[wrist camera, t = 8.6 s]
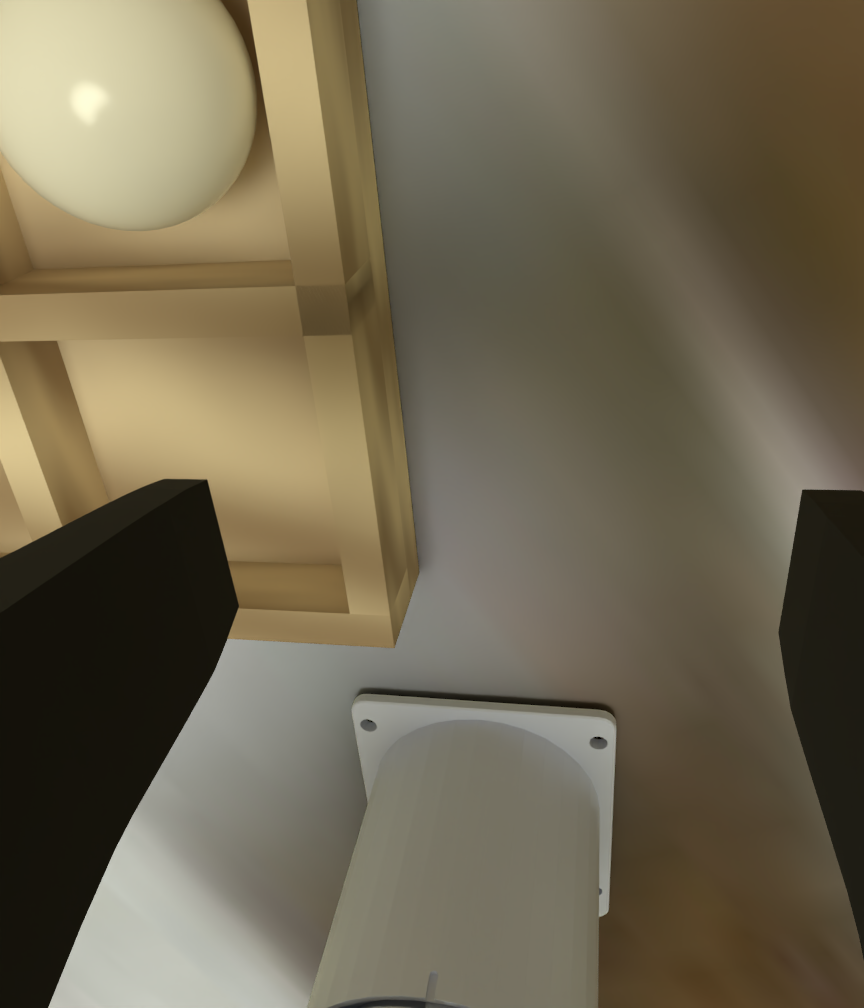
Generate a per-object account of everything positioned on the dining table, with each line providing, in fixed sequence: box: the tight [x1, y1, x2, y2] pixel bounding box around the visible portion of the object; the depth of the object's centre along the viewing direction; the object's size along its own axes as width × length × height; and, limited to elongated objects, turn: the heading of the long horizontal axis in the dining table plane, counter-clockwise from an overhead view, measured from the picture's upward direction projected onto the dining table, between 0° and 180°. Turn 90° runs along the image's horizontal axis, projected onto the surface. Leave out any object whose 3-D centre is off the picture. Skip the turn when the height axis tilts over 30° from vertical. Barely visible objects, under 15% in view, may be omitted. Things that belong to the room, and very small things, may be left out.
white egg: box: [0, 0, 257, 231], centre depth 14 cm, size 5×5×5 cm
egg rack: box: [0, 0, 419, 648], centre depth 19 cm, size 17×17×3 cm
